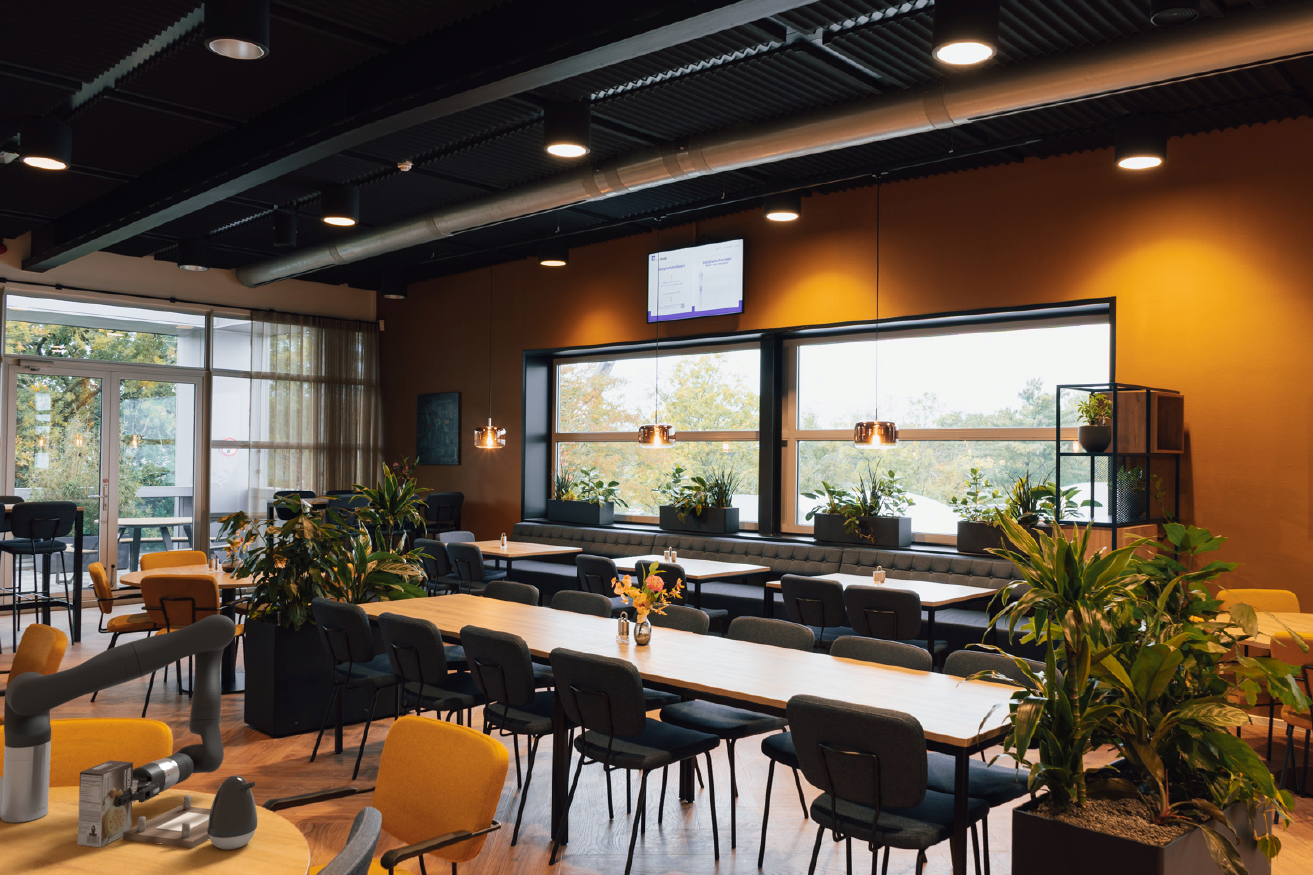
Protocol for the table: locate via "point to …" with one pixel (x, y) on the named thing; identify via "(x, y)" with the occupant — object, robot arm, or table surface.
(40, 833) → the table surface
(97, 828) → the coffee box
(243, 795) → the pump dispenser
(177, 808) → the peg stand
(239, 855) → the table surface
